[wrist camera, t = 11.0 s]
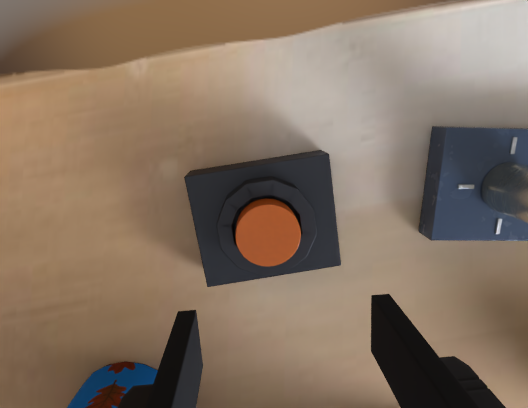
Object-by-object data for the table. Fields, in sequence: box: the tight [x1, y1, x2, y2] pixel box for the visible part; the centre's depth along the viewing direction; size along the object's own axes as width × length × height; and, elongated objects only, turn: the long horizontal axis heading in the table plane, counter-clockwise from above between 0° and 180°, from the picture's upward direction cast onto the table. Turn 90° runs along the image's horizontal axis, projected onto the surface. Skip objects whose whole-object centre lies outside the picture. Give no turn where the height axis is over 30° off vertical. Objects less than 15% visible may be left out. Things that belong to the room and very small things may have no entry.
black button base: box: [184, 150, 341, 287], centre depth 32 cm, size 12×10×5 cm
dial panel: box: [419, 126, 528, 241], centre depth 33 cm, size 12×10×3 cm
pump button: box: [235, 198, 301, 266], centre depth 29 cm, size 5×5×2 cm
